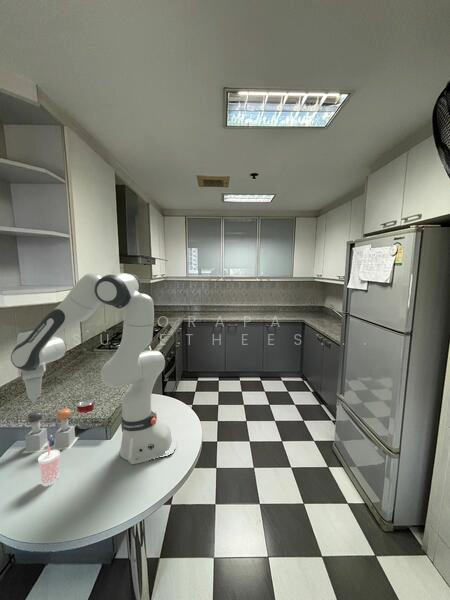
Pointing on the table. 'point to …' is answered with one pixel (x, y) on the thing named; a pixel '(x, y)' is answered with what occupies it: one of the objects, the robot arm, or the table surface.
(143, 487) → the table surface
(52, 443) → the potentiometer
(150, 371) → the robot arm
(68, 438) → the mount
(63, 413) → the knob orange
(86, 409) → the soda can
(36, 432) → the knob black
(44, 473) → the beverage cup
